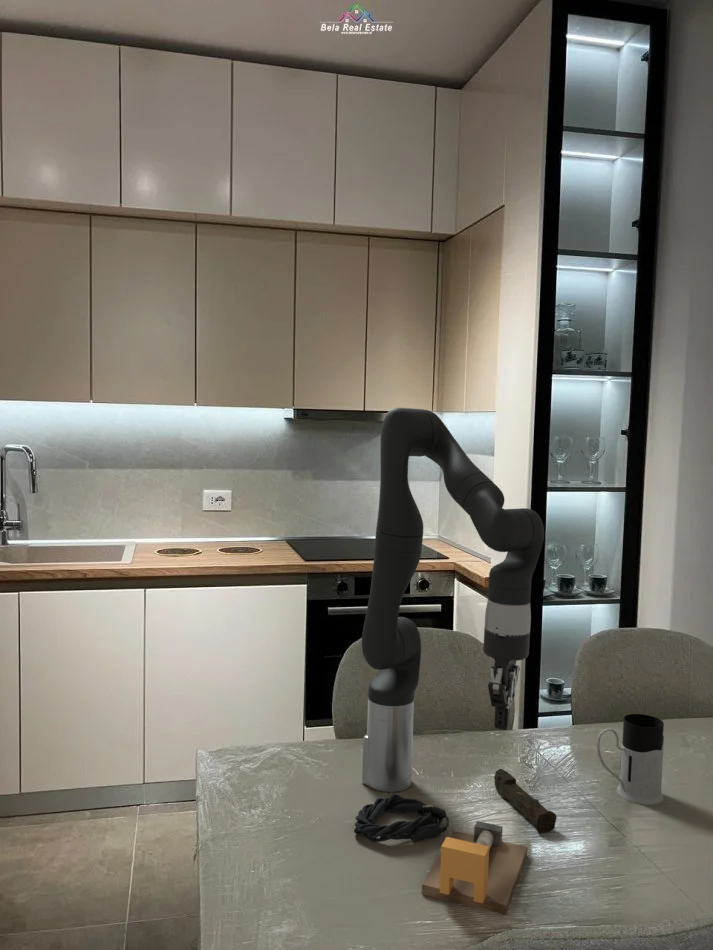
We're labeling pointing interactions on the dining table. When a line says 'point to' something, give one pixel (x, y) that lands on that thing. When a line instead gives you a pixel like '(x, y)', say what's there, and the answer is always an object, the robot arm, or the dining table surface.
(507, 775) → the dark brown tapered rod
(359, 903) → the dining table surface
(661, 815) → the dining table surface
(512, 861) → the wooden base plate
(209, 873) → the dining table surface
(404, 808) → the cable
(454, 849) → the notched block
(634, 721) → the glass holder
